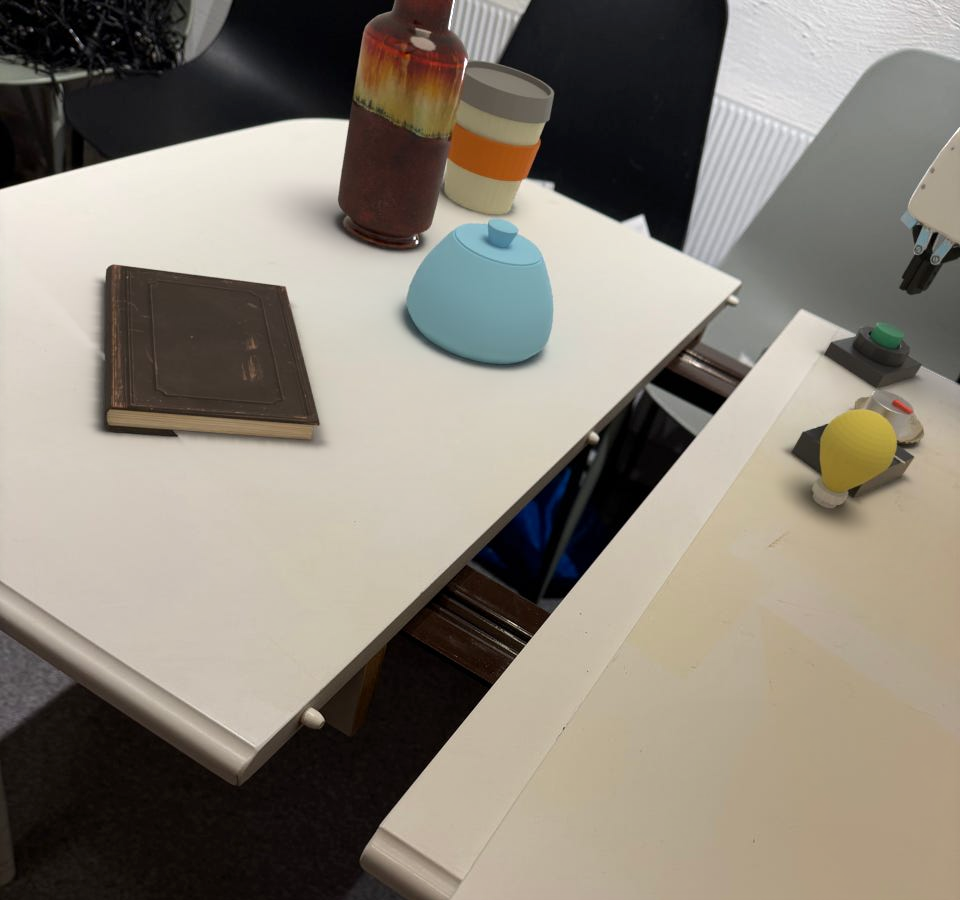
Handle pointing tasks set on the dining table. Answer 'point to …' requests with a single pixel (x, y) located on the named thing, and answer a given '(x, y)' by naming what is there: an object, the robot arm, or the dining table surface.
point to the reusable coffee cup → (495, 136)
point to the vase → (401, 122)
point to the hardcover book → (202, 356)
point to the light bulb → (852, 454)
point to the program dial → (890, 409)
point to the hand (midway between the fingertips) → (910, 290)
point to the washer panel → (810, 454)
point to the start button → (887, 335)
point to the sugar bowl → (484, 294)
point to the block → (873, 359)
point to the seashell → (910, 431)
